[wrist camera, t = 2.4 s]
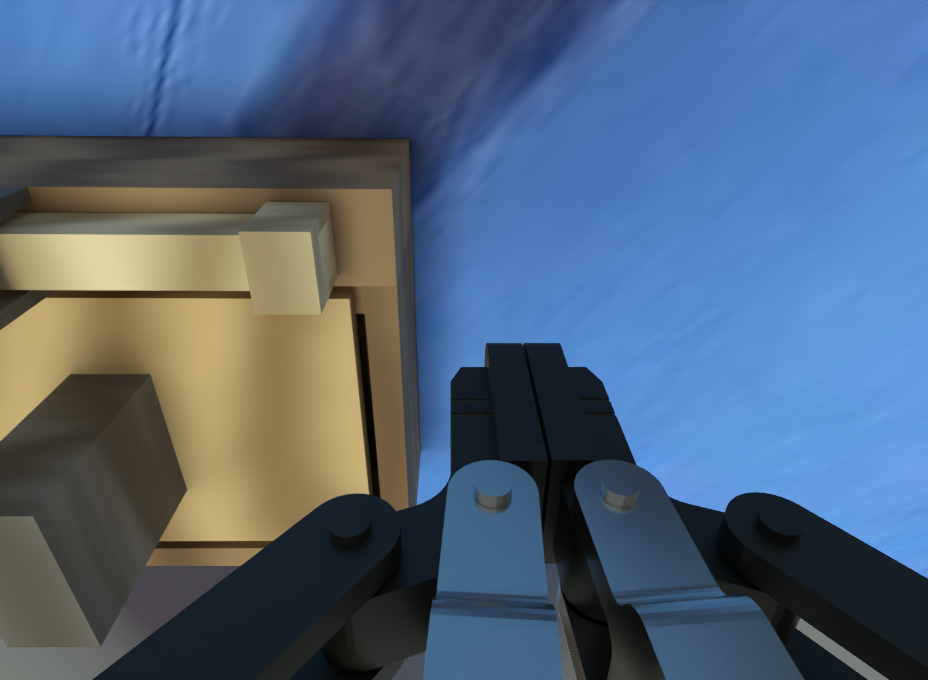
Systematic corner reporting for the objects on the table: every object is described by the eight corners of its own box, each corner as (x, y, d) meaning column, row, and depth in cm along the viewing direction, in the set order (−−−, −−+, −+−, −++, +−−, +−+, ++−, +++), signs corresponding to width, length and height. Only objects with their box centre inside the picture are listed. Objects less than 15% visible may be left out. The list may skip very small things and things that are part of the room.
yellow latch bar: (329, 202, 18) (310, 231, 16) (346, 360, 21) (332, 405, 19) (-276, 198, 18) (-389, 227, 16) (-172, 359, 21) (-253, 405, 19)
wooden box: (409, 138, 25) (378, 226, 15) (420, 452, 34) (406, 636, 24) (-99, 134, 25) (-474, 222, 15) (48, 452, 34) (-123, 639, 24)
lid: (353, 286, 21) (304, 424, 14) (375, 523, 27) (349, 698, 20) (-161, 284, 21) (-467, 423, 14) (-20, 524, 27) (-182, 702, 20)
